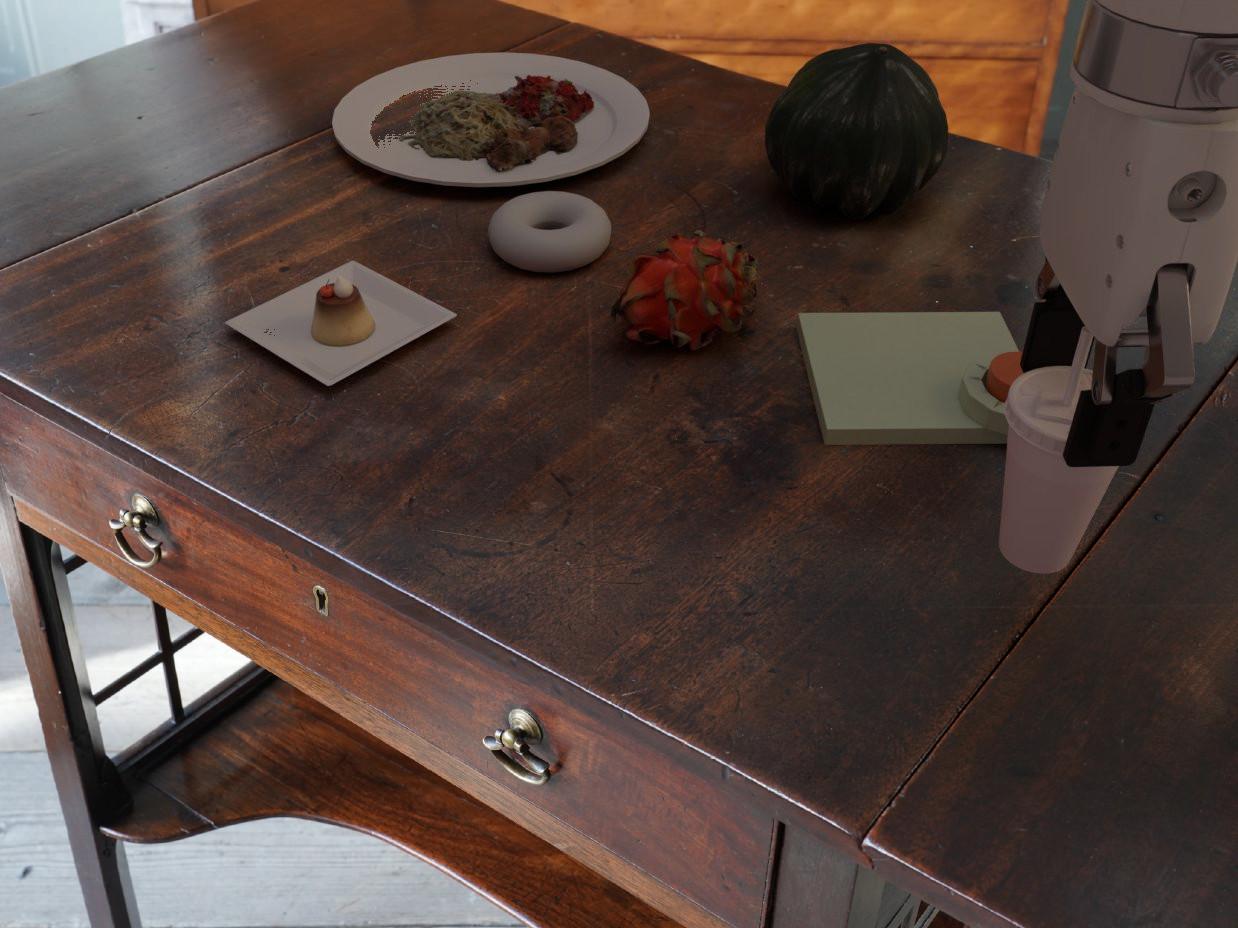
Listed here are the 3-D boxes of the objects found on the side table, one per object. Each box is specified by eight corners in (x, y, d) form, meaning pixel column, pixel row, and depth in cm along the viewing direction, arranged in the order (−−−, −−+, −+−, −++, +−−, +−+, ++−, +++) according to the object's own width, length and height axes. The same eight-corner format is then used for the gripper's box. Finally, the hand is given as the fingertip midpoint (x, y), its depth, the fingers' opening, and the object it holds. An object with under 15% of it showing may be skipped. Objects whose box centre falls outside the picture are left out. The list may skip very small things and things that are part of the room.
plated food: (270, 165, 111) (263, 130, 109) (433, 53, 132) (430, 21, 130) (571, 229, 102) (570, 192, 100) (693, 97, 123) (694, 65, 121)
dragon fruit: (766, 337, 92) (624, 394, 90) (718, 240, 94) (577, 293, 91) (799, 295, 84) (644, 356, 81) (745, 189, 86) (591, 246, 83)
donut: (465, 247, 100) (540, 294, 94) (461, 209, 98) (538, 254, 92) (559, 210, 105) (637, 252, 99) (558, 172, 103) (637, 213, 97)
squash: (809, 81, 113) (791, -9, 99) (969, 117, 108) (974, 28, 94) (758, 221, 112) (731, 151, 97) (917, 263, 107) (914, 196, 93)
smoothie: (948, 527, 66) (996, 307, 57) (1045, 495, 68) (1106, 277, 59) (1023, 607, 61) (1088, 381, 52) (1125, 570, 63) (1205, 346, 54)
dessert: (226, 335, 89) (213, 278, 86) (354, 272, 96) (346, 217, 93) (330, 399, 83) (320, 340, 80) (459, 327, 90) (454, 271, 87)
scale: (1018, 327, 91) (1026, 292, 89) (1082, 454, 79) (1093, 418, 77) (796, 328, 91) (800, 293, 89) (827, 457, 79) (832, 420, 77)
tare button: (1043, 370, 82) (1048, 350, 81) (1062, 409, 79) (1068, 389, 78) (978, 370, 82) (982, 351, 81) (995, 409, 79) (1000, 390, 78)
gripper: (1388, 144, 41) (1223, 537, 52) (1190, -29, 54) (1093, 315, 65) (1163, 149, 40) (1047, 541, 52) (1020, -25, 54) (953, 318, 65)
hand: (1074, 412), depth 59 cm, fingers closed on smoothie, 6 cm apart
